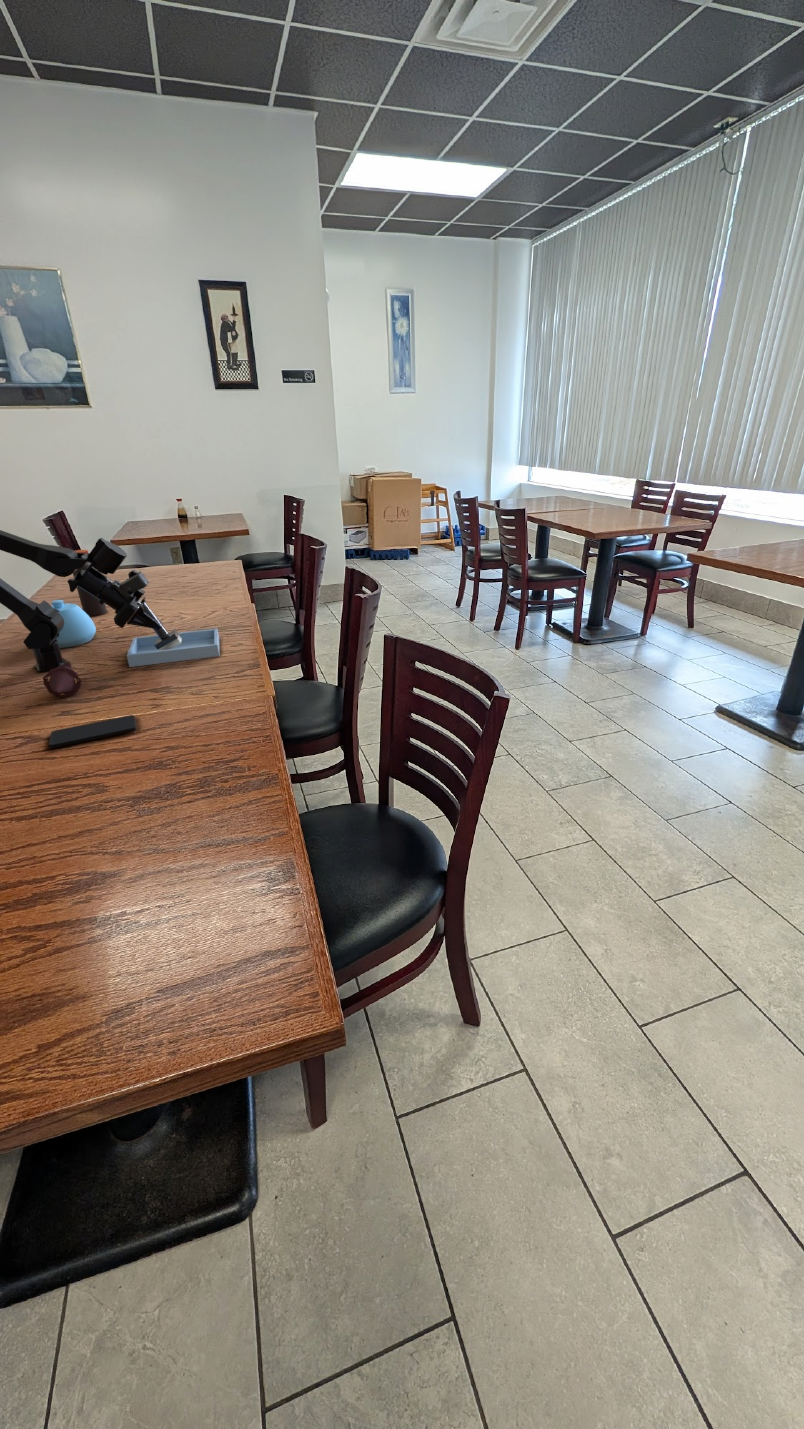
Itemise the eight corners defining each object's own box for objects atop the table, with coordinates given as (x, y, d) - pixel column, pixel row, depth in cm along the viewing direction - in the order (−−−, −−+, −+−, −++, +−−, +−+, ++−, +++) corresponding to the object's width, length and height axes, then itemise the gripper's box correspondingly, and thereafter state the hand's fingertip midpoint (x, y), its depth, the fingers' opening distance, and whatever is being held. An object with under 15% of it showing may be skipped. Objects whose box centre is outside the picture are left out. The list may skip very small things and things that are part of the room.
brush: (161, 654, 151) (128, 612, 144) (162, 649, 155) (130, 607, 148) (181, 643, 151) (150, 600, 145) (182, 638, 155) (151, 596, 148)
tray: (129, 667, 145) (126, 655, 144) (136, 648, 158) (133, 637, 156) (219, 656, 150) (217, 644, 149) (219, 639, 163) (217, 628, 161)
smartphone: (50, 731, 112) (134, 714, 118) (51, 734, 113) (135, 718, 118) (47, 746, 107) (136, 727, 112) (49, 750, 107) (137, 731, 113)
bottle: (79, 616, 189) (61, 553, 180) (93, 610, 195) (76, 549, 186) (98, 616, 188) (81, 553, 179) (111, 610, 194) (95, 549, 185)
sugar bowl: (108, 637, 168) (98, 597, 163) (57, 653, 156) (44, 611, 151) (78, 630, 175) (68, 591, 170) (28, 644, 164) (14, 604, 159)
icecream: (77, 677, 123) (86, 659, 136) (36, 673, 120) (50, 656, 133) (76, 708, 124) (86, 688, 138) (36, 706, 122) (49, 686, 135)
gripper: (116, 570, 133) (177, 611, 141) (127, 555, 150) (181, 593, 157) (88, 607, 135) (150, 647, 142) (102, 589, 151) (156, 625, 159)
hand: (160, 626), depth 150 cm, fingers closed on brush, 2 cm apart
